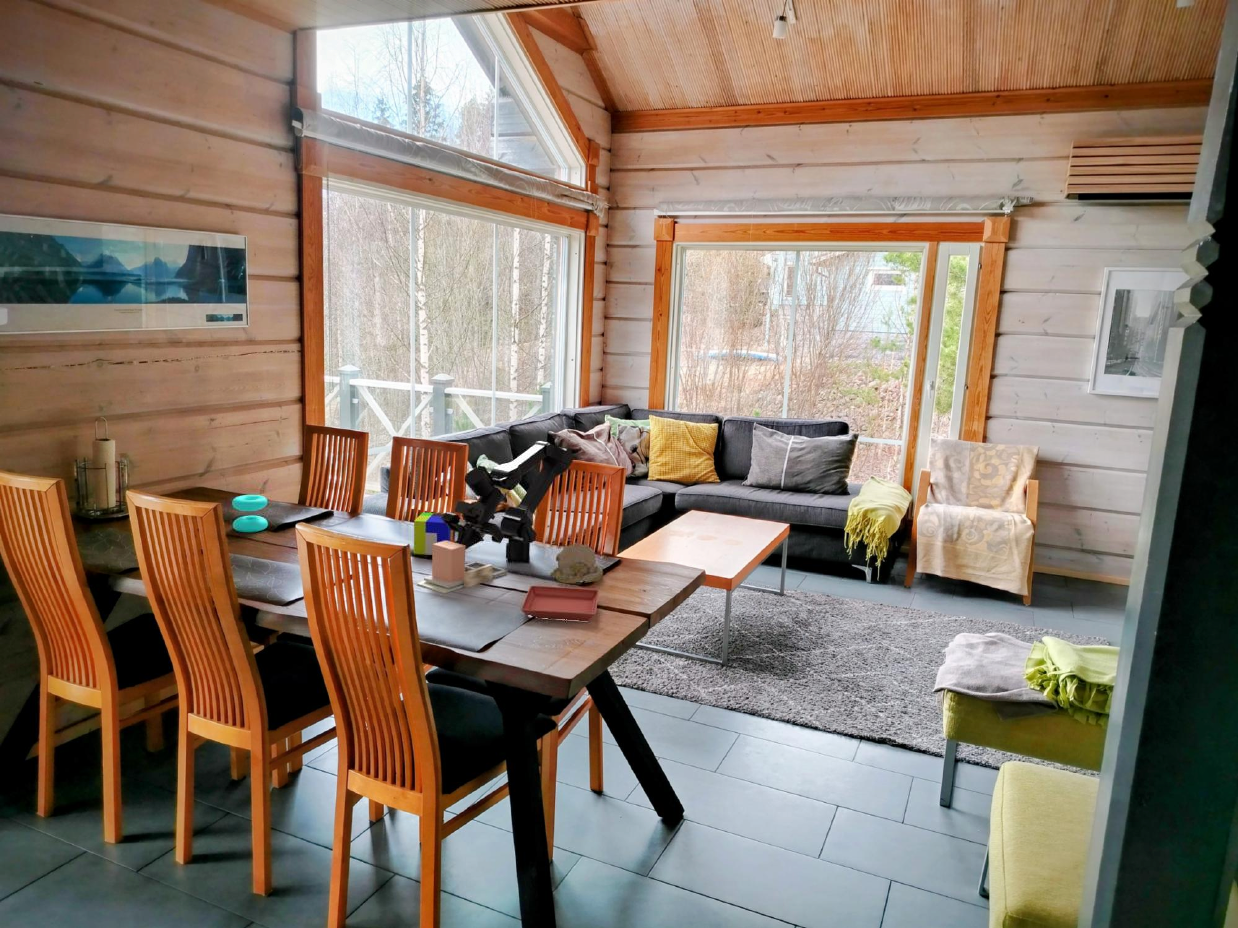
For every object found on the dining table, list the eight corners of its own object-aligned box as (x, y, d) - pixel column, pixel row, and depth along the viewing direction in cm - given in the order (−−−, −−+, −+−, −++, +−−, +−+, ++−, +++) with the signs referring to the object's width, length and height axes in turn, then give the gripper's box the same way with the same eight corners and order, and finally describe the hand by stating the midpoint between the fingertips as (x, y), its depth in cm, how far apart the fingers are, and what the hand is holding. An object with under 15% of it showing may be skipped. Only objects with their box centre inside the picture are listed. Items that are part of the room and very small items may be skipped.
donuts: (254, 492, 276) (274, 497, 270) (255, 522, 278) (274, 528, 272) (225, 497, 267) (245, 503, 262) (226, 528, 269) (245, 535, 264)
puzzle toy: (447, 555, 256) (448, 523, 254) (413, 553, 256) (414, 520, 254) (454, 546, 266) (455, 514, 264) (422, 544, 266) (422, 512, 264)
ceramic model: (555, 584, 237) (557, 549, 235) (547, 571, 247) (548, 537, 245) (605, 582, 241) (607, 547, 239) (595, 569, 251) (597, 536, 249)
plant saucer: (529, 596, 227) (530, 584, 226) (598, 600, 227) (599, 588, 226) (519, 622, 209) (520, 608, 209) (594, 626, 209) (595, 613, 208)
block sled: (448, 572, 238) (449, 538, 236) (472, 580, 233) (473, 544, 231) (423, 580, 231) (424, 544, 229) (448, 588, 226) (449, 551, 224)
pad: (436, 578, 235) (436, 576, 235) (463, 586, 230) (463, 585, 230) (417, 584, 230) (417, 583, 230) (444, 593, 224) (444, 591, 224)
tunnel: (459, 569, 244) (460, 555, 243) (492, 578, 238) (492, 564, 237) (433, 577, 236) (433, 563, 235) (466, 587, 229) (466, 573, 229)
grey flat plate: (475, 564, 249) (475, 560, 249) (507, 573, 243) (507, 570, 243) (460, 568, 244) (460, 565, 244) (492, 578, 238) (492, 575, 238)
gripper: (447, 483, 239) (416, 529, 232) (498, 495, 229) (467, 543, 222) (466, 506, 247) (437, 551, 240) (516, 518, 237) (487, 566, 230)
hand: (456, 553), depth 233 cm, fingers closed, pressing on block sled
